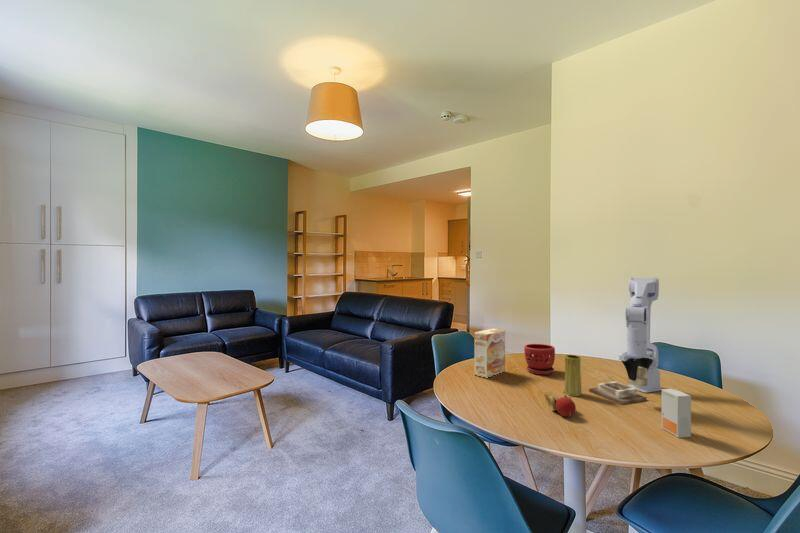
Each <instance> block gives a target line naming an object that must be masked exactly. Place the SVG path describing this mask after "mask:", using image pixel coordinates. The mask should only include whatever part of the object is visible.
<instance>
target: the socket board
mask: <svg viewBox="0 0 800 533" xmlns="http://www.w3.org/2000/svg"><path fill="white" fill-rule="evenodd" d="M627 385H628V384H624V383H621V382H619V381H616V380H614V381H608V382H607V381H606V382H601V383H597V387H592V388H588V392H589V393H591V394H592V393H593V394H595V395H598V396H600V397H603V398H605V399H607V400H608V401H609V400H610V401H612V402H614V403H617V404H620V405H627V404H631V403H636V402H638V403H639V402H644V401H647V397H646V396H643V395H641V394H638V392H637V391H638V390H637V389H636V388H633V387H630V386H627Z"/></svg>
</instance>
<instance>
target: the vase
mask: <svg viewBox="0 0 800 533" xmlns="http://www.w3.org/2000/svg"><path fill="white" fill-rule="evenodd" d="M581 371H582V369H581V356H579V355H575V354H567V355H566V354H565V356H564V389H563V390H564V391H563V393H564V394H565V395H569V396H570V397H581V396H582V375H581V374H582V373H581Z"/></svg>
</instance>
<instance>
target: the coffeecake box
mask: <svg viewBox="0 0 800 533" xmlns="http://www.w3.org/2000/svg"><path fill="white" fill-rule="evenodd" d="M473 334H474V360H473V362H474V373H473V374H476V375H480V376H483V377H486V378H488V377H491V376H493V375H496V374H498V375H500V374H499V373H501V372H504V371H505V372H506V329H501V328H488V329H483V330H479V331H475V332H474V333H473ZM505 372H504V373H505ZM501 374H502V373H501ZM496 376H497V375H496ZM493 377H494V376H493ZM491 378H492V377H491ZM488 379H489V378H488Z"/></svg>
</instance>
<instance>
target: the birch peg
mask: <svg viewBox="0 0 800 533" xmlns="http://www.w3.org/2000/svg"><path fill="white" fill-rule="evenodd" d="M627 378H628V379H627V383H628V384H627V385H634V386H637V387H643V386H647V368H643V367H640V366H638V369H637V376H636V381H633V380H630V379H629V377H627Z"/></svg>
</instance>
